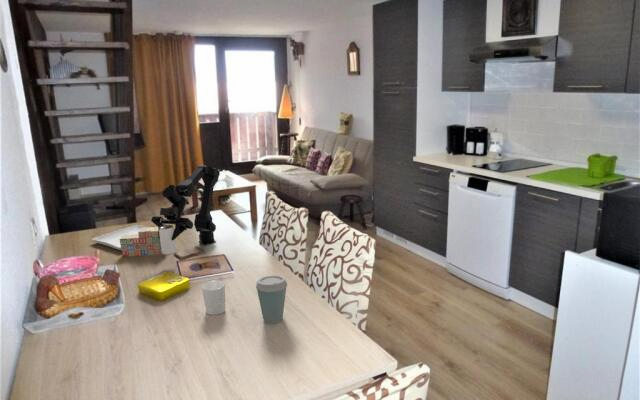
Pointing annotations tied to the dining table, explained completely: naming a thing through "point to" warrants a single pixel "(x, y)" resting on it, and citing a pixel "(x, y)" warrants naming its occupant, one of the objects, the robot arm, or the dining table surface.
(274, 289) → the disposable coffee cup
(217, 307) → the white cup
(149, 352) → the dining table surface
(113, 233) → the square plate
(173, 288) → the element tile
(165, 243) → the can
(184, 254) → the tan flat board
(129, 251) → the stack of blocks
